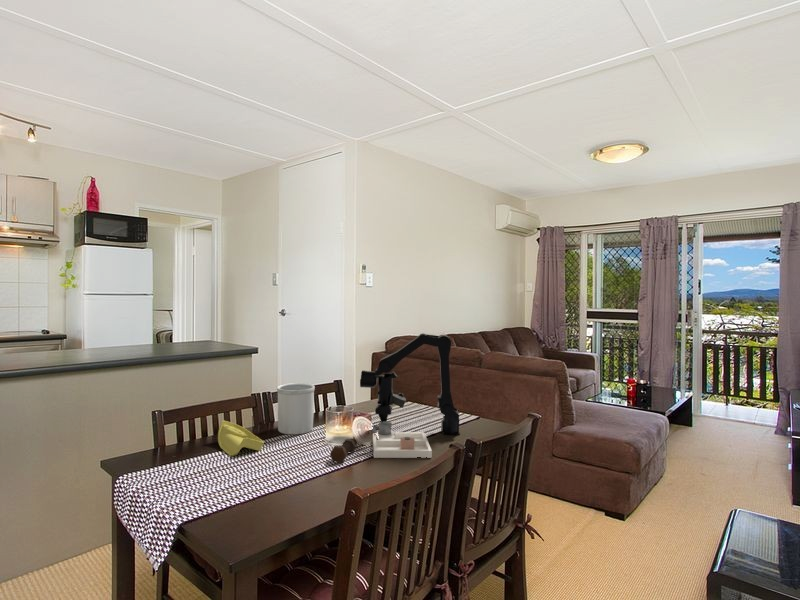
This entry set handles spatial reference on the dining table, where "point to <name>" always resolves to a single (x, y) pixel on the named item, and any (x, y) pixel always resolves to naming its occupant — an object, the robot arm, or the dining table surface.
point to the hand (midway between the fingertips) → (384, 425)
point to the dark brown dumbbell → (343, 450)
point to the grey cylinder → (384, 428)
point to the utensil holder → (295, 408)
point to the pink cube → (407, 443)
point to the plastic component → (236, 438)
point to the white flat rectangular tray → (391, 446)
